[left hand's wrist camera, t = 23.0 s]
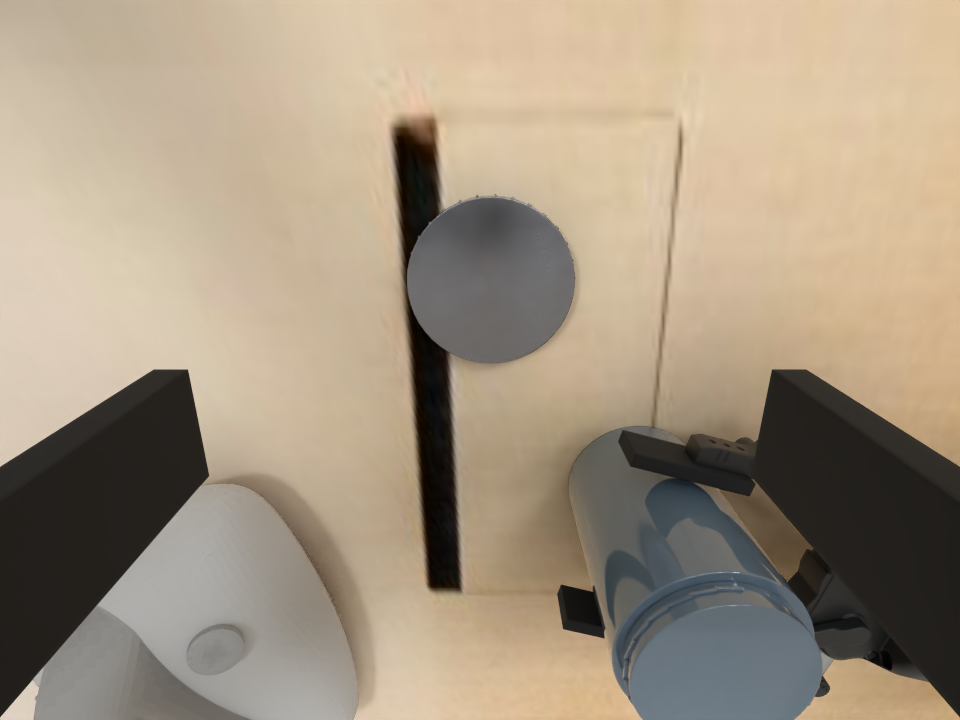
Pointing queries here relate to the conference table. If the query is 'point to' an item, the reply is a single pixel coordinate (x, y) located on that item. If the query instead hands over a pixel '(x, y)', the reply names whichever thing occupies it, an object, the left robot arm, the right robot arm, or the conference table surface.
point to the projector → (209, 628)
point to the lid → (490, 279)
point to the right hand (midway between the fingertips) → (592, 531)
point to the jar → (688, 595)
